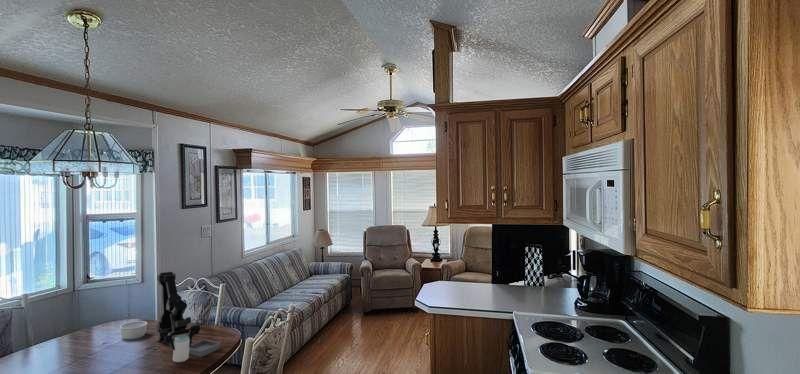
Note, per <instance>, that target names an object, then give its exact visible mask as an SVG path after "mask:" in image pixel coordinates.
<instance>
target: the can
mask: <svg viewBox="0 0 800 374" xmlns="http://www.w3.org/2000/svg"><path fill="white" fill-rule="evenodd" d="M188 335H189V334H180V335H176V337H175V338H174V340H173V344H174V350H172V361H173V362H175V363H184V362H186V361H187V360H189V358H190V354H189V341H190V339H189V337H188Z"/></svg>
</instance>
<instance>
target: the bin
mask: <svg viewBox="0 0 800 374" xmlns="http://www.w3.org/2000/svg"><path fill="white" fill-rule="evenodd" d="M221 344H222V342H218V341H214V340H210V339H209V340H208V339H202V340H199V341H196V342H193V343H191V346H190V347H189V356H194V357H199V358H203V357H205V356H207V355H209V354H211V353H214V352H215V351H219V350H220V349H221Z"/></svg>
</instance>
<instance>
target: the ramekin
mask: <svg viewBox="0 0 800 374" xmlns="http://www.w3.org/2000/svg"><path fill="white" fill-rule="evenodd" d="M147 327H148V322H147V321H144V320H135V321H129V322H125V323H122V324H121V325H120V327H119V330H120V336H121V339H123V340H135V339H139V338H142V337H143V336H145V334H146V333H147Z"/></svg>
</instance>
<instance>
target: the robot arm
mask: <svg viewBox="0 0 800 374" xmlns="http://www.w3.org/2000/svg"><path fill="white" fill-rule="evenodd" d="M156 280H157V282H158V285H159V286H160V288H161V302H162V303H161V305H162V306H161V307H162V308H161V309H162V312H161V313H162V314H161V315H160V317H159V320H158V322H157V325H156V332H157V333H158V336H157V340H156V342H157V343H161V344H166V345H168V346H169V347H170V349H171V350H172V351H173V350H174V340H175V338H173V336H179V335H186V334H187V335H188V337H189V339H190V341H189V347H190V346H191V344H192V341H193V337H194V336H195V335H198V334H199V332H200V331H201V325H200V324H194V325H191V326H190V328H187V326H188V325H189V324H191V323H192V318H191V316H188V317H186V318H184V314H185V312H186V309H187V307H188V304H187V302H186V301H184V300H183V299H182V296H180V295H179V293H178V289H177V285H176V280H177V279H176V273H174V272H173V271H163V272H160V273H159V274H157V277H156Z"/></svg>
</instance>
